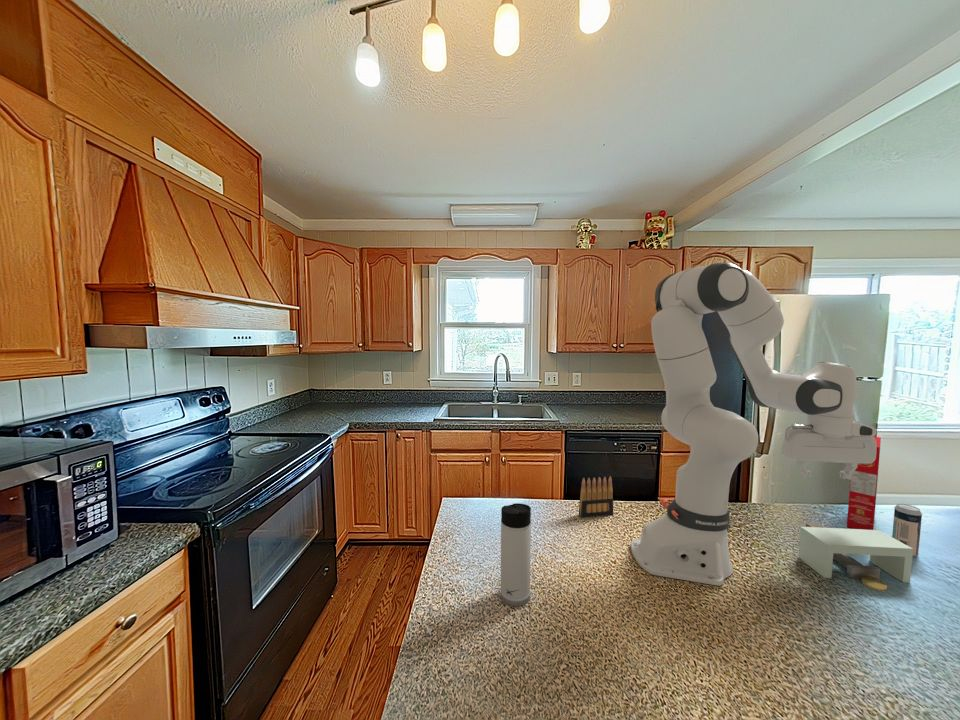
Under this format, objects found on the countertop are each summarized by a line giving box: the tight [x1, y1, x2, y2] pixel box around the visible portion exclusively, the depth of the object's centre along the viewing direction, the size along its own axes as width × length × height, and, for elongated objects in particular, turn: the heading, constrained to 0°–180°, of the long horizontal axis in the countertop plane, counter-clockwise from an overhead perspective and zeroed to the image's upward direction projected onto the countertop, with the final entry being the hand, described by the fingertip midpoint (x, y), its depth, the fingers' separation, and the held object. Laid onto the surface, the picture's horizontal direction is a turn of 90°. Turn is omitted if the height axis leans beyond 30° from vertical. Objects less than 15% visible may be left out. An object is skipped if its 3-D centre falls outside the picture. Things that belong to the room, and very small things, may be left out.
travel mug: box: [500, 502, 532, 607], centre depth 80 cm, size 6×7×20 cm
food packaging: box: [846, 436, 882, 530], centre depth 112 cm, size 15×5×25 cm, turn 133°
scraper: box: [805, 522, 881, 580], centre depth 94 cm, size 6×16×5 cm, turn 175°
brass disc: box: [860, 576, 888, 592], centre depth 84 cm, size 4×4×1 cm
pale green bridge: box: [798, 526, 914, 584], centre depth 90 cm, size 18×8×8 cm, turn 85°
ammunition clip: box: [578, 475, 614, 518], centre depth 116 cm, size 11×2×12 cm, turn 100°
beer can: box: [891, 503, 923, 557], centre depth 97 cm, size 5×5×12 cm
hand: (825, 477), depth 98 cm, fingers open, 8 cm apart
